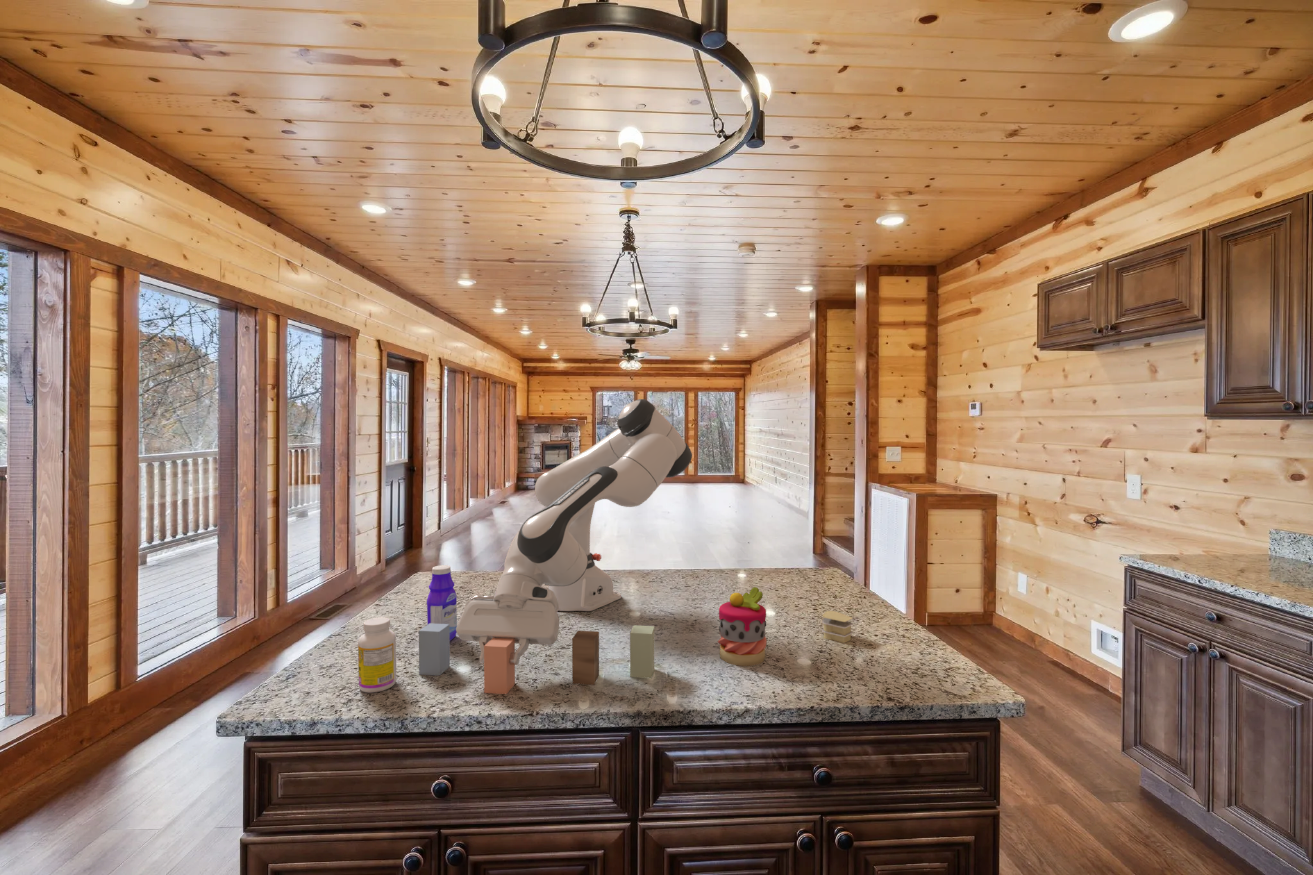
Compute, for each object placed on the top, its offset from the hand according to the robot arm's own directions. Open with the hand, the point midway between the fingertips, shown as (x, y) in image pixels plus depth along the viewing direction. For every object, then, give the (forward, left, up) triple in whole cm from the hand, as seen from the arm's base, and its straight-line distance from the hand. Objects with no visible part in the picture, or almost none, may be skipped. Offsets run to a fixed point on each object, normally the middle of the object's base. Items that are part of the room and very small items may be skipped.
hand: (498, 662), depth 111 cm
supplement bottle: (+15, -18, -5) cm, 25 cm away
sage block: (-25, +15, -5) cm, 29 cm away
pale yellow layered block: (-71, +34, -6) cm, 79 cm away
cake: (-46, +25, -5) cm, 52 cm away
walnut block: (-15, +9, -5) cm, 18 cm away
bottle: (-5, -32, -5) cm, 33 cm away
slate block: (+4, -17, -5) cm, 19 cm away
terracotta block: (-1, 0, -5) cm, 5 cm away
